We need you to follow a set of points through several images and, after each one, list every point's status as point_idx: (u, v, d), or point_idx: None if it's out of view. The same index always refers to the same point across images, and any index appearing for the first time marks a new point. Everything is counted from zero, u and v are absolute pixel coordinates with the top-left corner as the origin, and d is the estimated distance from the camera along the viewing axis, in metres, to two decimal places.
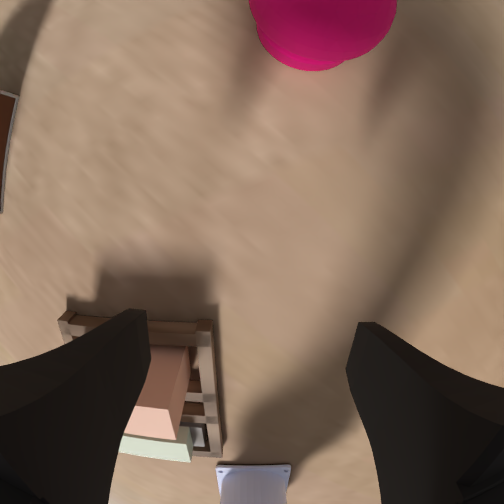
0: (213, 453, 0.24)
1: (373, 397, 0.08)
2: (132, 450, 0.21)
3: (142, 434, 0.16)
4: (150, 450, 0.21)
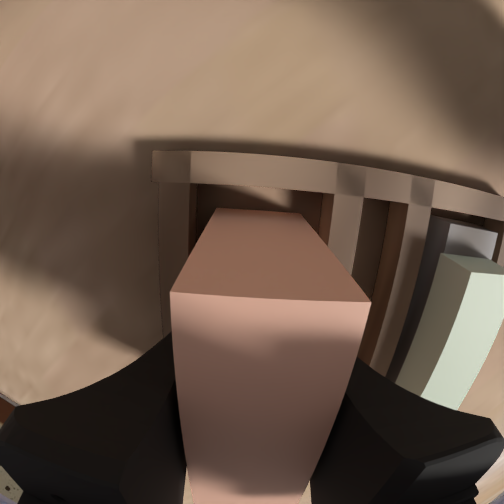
0: None
1: None
2: (458, 389, 0.10)
3: (332, 404, 0.05)
4: (469, 355, 0.09)
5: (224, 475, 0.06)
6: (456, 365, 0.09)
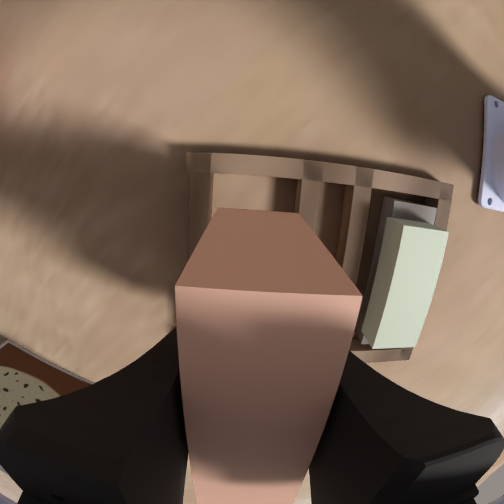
0: (442, 195, 0.15)
1: None
2: (413, 321, 0.15)
3: (328, 394, 0.05)
4: (415, 291, 0.15)
5: (225, 465, 0.06)
6: (406, 298, 0.15)
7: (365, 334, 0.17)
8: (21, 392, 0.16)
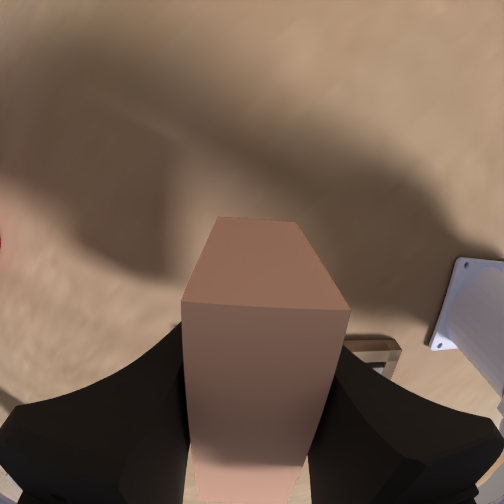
0: (390, 358, 0.20)
1: None
2: None
3: (320, 397, 0.06)
4: None
5: (225, 461, 0.07)
6: None
7: None
8: None
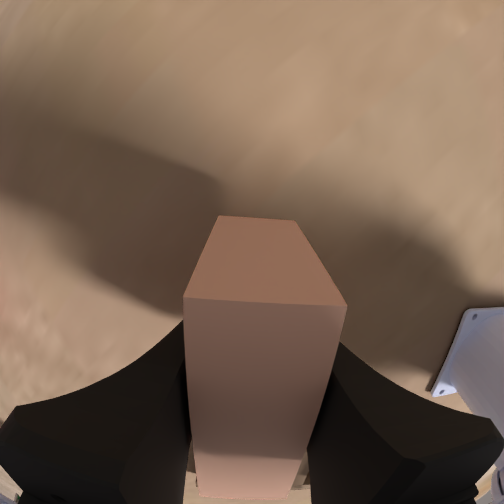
0: None
1: None
2: None
3: (318, 391, 0.06)
4: None
5: (225, 456, 0.07)
6: None
7: None
8: None
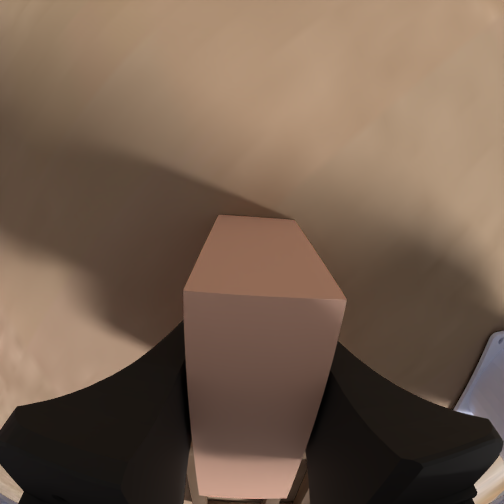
0: None
1: None
2: None
3: (318, 387, 0.06)
4: None
5: (225, 453, 0.07)
6: None
7: None
8: None
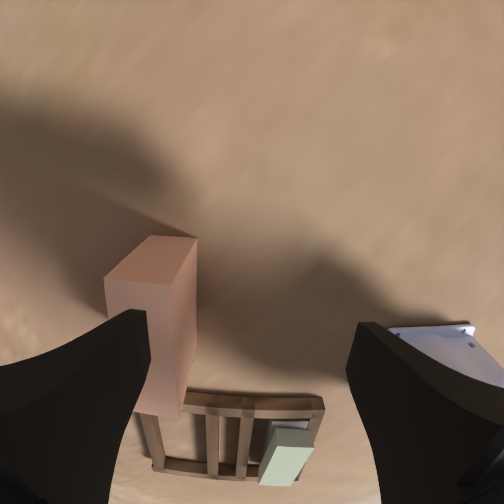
0: (314, 416, 0.21)
1: (373, 397, 0.08)
2: (286, 477, 0.22)
3: (168, 331, 0.13)
4: (286, 468, 0.21)
5: None
6: (279, 470, 0.21)
7: (258, 473, 0.23)
8: None
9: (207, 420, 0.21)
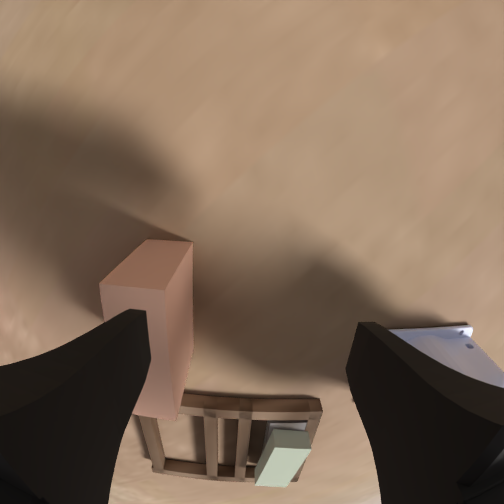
0: (312, 417, 0.22)
1: (373, 397, 0.08)
2: (283, 478, 0.22)
3: (163, 335, 0.13)
4: (283, 469, 0.21)
5: None
6: (276, 471, 0.21)
7: (255, 474, 0.23)
8: None
9: (205, 422, 0.22)
